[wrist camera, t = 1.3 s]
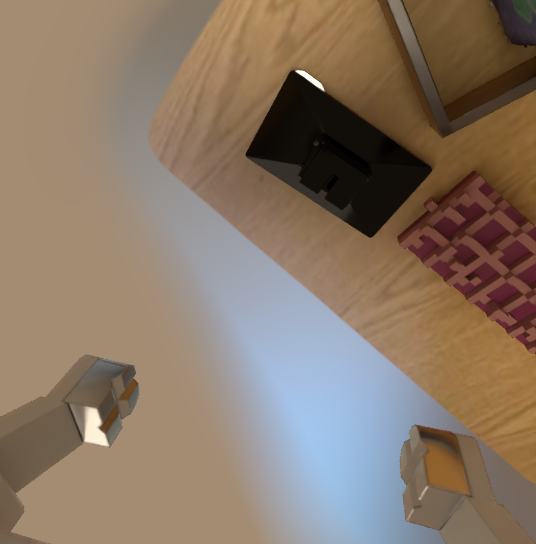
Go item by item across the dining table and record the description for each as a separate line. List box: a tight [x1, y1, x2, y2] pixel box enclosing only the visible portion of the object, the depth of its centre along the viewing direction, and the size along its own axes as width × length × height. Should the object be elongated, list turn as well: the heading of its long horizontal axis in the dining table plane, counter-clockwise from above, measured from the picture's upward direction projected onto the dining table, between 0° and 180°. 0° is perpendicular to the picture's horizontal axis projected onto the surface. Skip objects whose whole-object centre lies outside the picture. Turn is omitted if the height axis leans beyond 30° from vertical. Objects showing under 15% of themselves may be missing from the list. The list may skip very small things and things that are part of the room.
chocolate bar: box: [398, 171, 536, 354], centre depth 29 cm, size 7×19×2 cm, turn 54°
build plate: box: [246, 70, 432, 238], centre depth 26 cm, size 12×7×5 cm, turn 59°
